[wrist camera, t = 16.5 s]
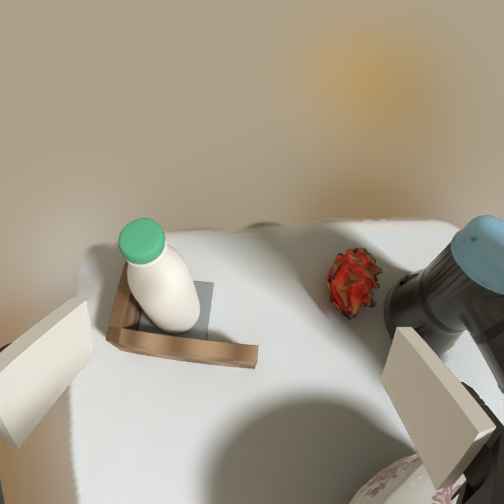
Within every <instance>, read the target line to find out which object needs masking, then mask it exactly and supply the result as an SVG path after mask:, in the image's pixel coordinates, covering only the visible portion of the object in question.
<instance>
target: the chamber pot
mask: <svg viewBox="0 0 504 504" xmlns="http://www.w3.org/2000/svg"><path fill="white" fill-rule="evenodd" d="M465 480H466V478H465V476H464V474H462V475H461V477H460V478H459V479H458V480H457V481H456V483H455V484H454V485H451V486H449V487H446V488H443V489H439V490H435V488H434V485H433V483H432V481H431V479H430V477H429V475H428V473H427V471H426V468H425V466H424V464H423V462H422V460H421V458H420V456H419V454H418V453H417V454H414V455H410V456H406V457H403V458H401V459H399V460H398V461H396V462H394V463H392V464H391V465H389V466H387V467H385V468H383V469H382V470H380V471H379V472H378V473H377V474H376V475H374V476H373V477H372V478H371V479H370V480H369V481H368V482H367V483H365V484H364V485H363V486H362V487H361V488H360V489H359V490H358V491H357V493H356V494H355V495H354V497H353V498H352V499H351V501H350V502H349V503H348V504H456V502H457V499H458V496H459V494H458V495H457V496H456V497H455V498H454V499H453V500H451V497H452V495H453V494H454V493H455V492H456V491H457V490H458V489H459V487H460V486H461V485H462V484H463V483H464V482H465Z"/></svg>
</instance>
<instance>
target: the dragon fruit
mask: <svg viewBox="0 0 504 504" xmlns="http://www.w3.org/2000/svg"><path fill="white" fill-rule="evenodd" d="M375 264H376V259H374V258H373V257H372V256H371V254H370V253H368V252H367V250H366V249H365V248H364V249H363V248H356V249H353V250H352V249H347V251H346V254H345V255H343V254H342V253H339V254H338V255H337V256H336V259H335V261H334V265H333V267H332V269H331V270H330V272H329V275H328V276H327V277H326V283H327V287H328V290H329V293H330V300H331V302H332V303H334V305H335V306H336V308H337V309H338V310H339V311H340V313H341V314H342V315H344V316H346V317H347V318H348V319H349V320H351V318H350V316H353V317H355V315H357V313H358V312H359V309H360V306H361V304H362V303H363V305H364V306H365V307H366V306H367V307H375V306H376V305H377V302H375V303H373V299H372V296H373V293H372V288H375V289H377V288H379V287H380V285H379V284H378V283H376V282H377V281H378V279H377V277H376V276H375V275H378V274H380V273H382V270H381V269H380V268H378V267H377V266H375ZM374 276H375V277H374Z"/></svg>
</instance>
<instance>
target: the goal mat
mask: <svg viewBox="0 0 504 504" xmlns="http://www.w3.org/2000/svg"><path fill="white" fill-rule="evenodd" d="M193 282H194V285H195V289H196V292H197V296H198V299H199V303H200V315H199V318H198V320H197V322H196V323H195V324H194V326H193V327H192V328H190V329H189V330H187V331H185V332H183V333H179V334H170V333H166V332H163V331H162V330H160V329H159V328H158V327H157V326H156V325H155V324H154V323H153V322H152V321H151V319H150V318H149V317H148V315H147V314H146V313H145V311H144V310H142V315H141V320H140V325H139V330H138V331H141V332H147V333H153V334H160V335H167V336H174V337H182V338H189V339H197V340H206V337H207V329H208V322H209V314H210V307H211V300H212V292H213V285H214V283H208V282H198V281H193Z"/></svg>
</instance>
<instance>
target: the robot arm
mask: <svg viewBox="0 0 504 504" xmlns="http://www.w3.org/2000/svg"><path fill="white" fill-rule="evenodd" d="M385 321H386V326H387V329H388V331H389V334H390V336H391V337H392V339H393V342H392V345H391V348H390V351H389V355H388V358H387V361H386V364H385V367H384V370H383V373H382V376H381V378H380V380H381V382H382V384H383V386H384V388H385V390H386V392H387V393H388V395H389V397H390V399H391V401H392V403H393V405H394V407H395V409H396V411H397V412H398V414H399V416H400V418H401V420H402V422H403V424H404V426H405V428H406V430H407V432H408V434H409V436H410V438H411V440H412V442H413V444H414V446H415V448H416V450H417V452H418V454H419V456H420V458H421V460H422V462H423V464H424V466H425V468H426V471H427V473H428V475H429V477H430V479H431V481H432V483H433V485H434V488H435V490H439V489H443V488H446V487H449V486H451V485H454V484H455V483H456V481H457V480H458V479H459V478H460V477H461V475H462V474H464V476H465V478H466V480H465V482H464V483H463V484H462V485H461V486H460V487H459V489H458V490H457V491H456V492H455V493H454V494H453V495H452V497H451V500H453V499H454V498H455V497H456V496H457V495H458V494H459V496H458V499H457V502H456V504H504V426H503V425H502V423H501V422H500V421H499V420H498V418H497V417H496V416H495V415H494V413H493V412H492V411H491V410H490V409H489V407H488V406H487V405H486V406H485V403H484V401H483V400H482V399H480V397H479V395H478V394H477V393H476V392H475V391H474V390H473V388H471V387H470V386H468V385H467V384H465V383H464V382H460V381H459V380H458V379H457V378H456V376H455V375H454V374H453V373H452V372H451V371H450V369H449V368H448V367H447V366H446V365H445V364H444V363H443V361H442V360H441V359H440V358H439V357H438V356H439V355H441V354H443V353H445V352H446V351H447V350H449V349H450V348H451V347H452V346H453V345H454V343H455V342H456V340H457V339H458V338H459V337H460V335H461V334H462V333H463V331H464V330H466V329H467V330H468V332H469V333H470V335H471V336H472V338H473V339H474V341H475V343H476V345H477V346H478V348H479V350H480V352H481V353H482V355H483V357H484V359H485V360H486V362H487V364H488V366H489V368H490V370H491V371H492V373H493V375H494V377H495V379H496V381H497V383H498V387H499V389H500V390H501V392H502V393H503V394H504V220H502V219H500V218H496V217H494V216H489V215H484V216H479V217H476V218H474V219H473V220H471V221H470V222H469V223H468V224H467V225H466V226H465V227H464V228H463V229H462V230H460V231H458V232H457V233H456V234H455V235H454V237H453V239H452V241H451V242H450V244H449V245H448V246H447V247H446V248H445V249H444V250H443V251H442V252H441V253H440V254H439V255H438V256H437V257H436V258H435V259H434V260H433V261H432V262H431V263H430V264H429V266H428V267H427V268H425V269H422V270H419V271H416V272H413V273H410V274H408V275H406V276H404V277H403V278H402V279H400V280H399V281H398V282H397V283H396V284H395V285H394V286H393V288H392V289H391V290H390V292H389V294H388V296H387V299H386V303H385ZM94 354H95V353H94V347H93V341H92V335H91V329H90V322H89V315H88V307H87V300H86V299H81V298H75V297H72V298H71V299H69V300H68V301H67V302H65V303H64V304H63V305H61V306H60V307H58V308H57V309H56V310H54V311H53V312H52V313H50V314H49V315H48V316H46V317H45V318H44V319H42V320H41V321H40V322H39V323H37V324H36V325H34V326H33V327H32V328H31V329H29V330H28V331H27V332H25V333H24V334H23V335H22V336H20V337H19V338H18V339H17V340H15V341H14V342H12V343H10V344H7V345H5V346H3V347H2V348H0V436H1V437H2V439H3V441H5V442H6V443H8V444H10V445H11V446H13V447H15V448H17V449H19V448H20V447H21V446H22V444H23V443H24V442H25V440H26V439H27V438H28V436H29V435H30V434H31V432H32V431H33V430H34V428H35V427H36V426H37V425H38V423H39V422H40V421H41V419H42V418H43V417H44V415H45V414H46V413H47V412H48V410H49V409H50V408H51V407H52V405H53V404H54V403H55V401H56V400H57V399H58V397H59V396H60V395H61V394H62V393H63V391H64V390H65V389H66V388H67V387H68V385H69V384H70V383H71V382H72V380H73V379H74V378H75V377H76V376H77V374H78V373H79V372H80V371H81V369H82V368H83V367H84V366H85V365H86V363H87V362H88V361H89V360H90V359H91V358H92V356H93V355H94ZM0 504H5V503H4V498H3V493H2V488H1V482H0Z"/></svg>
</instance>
